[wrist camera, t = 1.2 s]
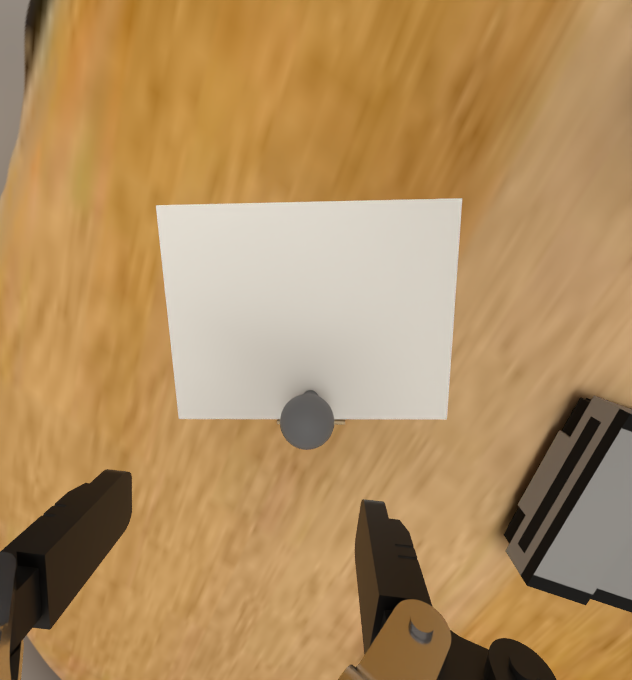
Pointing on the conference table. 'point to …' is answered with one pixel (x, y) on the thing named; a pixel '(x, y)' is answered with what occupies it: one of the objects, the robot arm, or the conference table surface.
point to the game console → (580, 510)
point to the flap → (311, 310)
